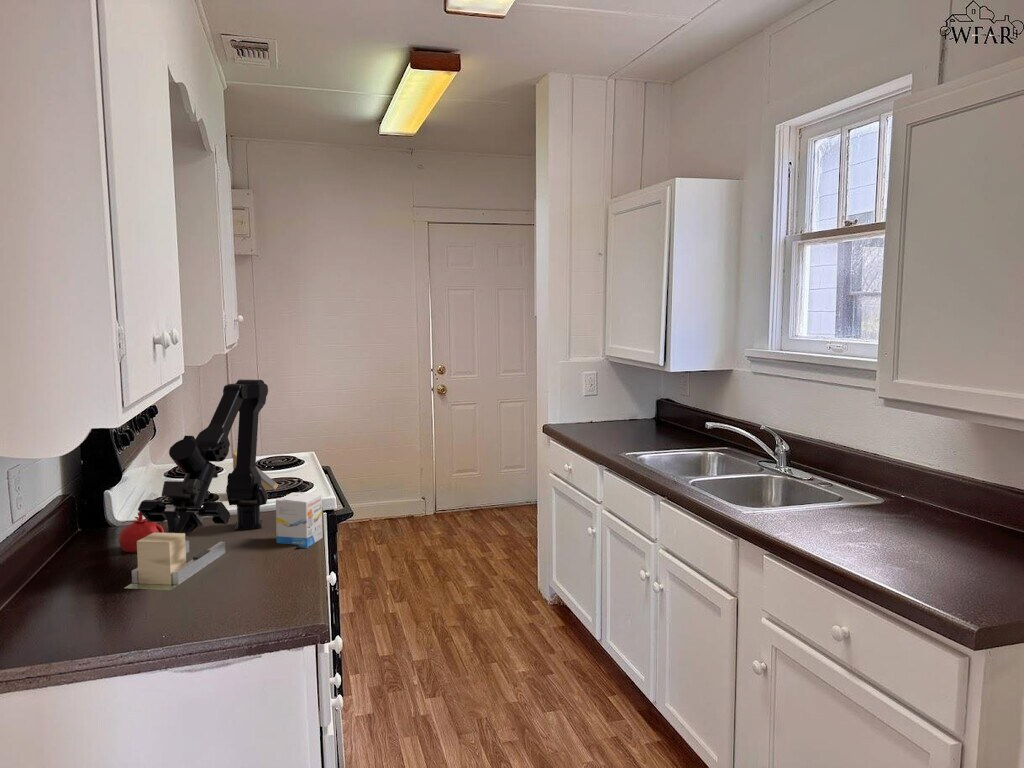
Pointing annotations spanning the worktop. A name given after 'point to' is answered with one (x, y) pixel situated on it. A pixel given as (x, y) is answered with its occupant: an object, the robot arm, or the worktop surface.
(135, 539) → the pomegranate
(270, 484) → the sandwich container
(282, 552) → the worktop surface
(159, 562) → the block
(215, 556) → the chute
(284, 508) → the ink box
